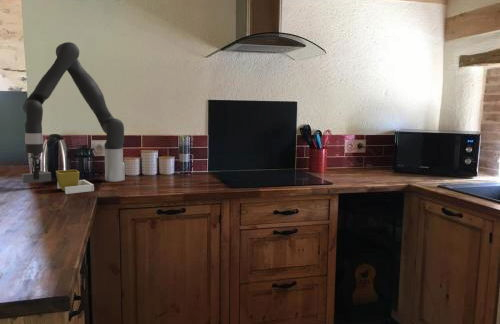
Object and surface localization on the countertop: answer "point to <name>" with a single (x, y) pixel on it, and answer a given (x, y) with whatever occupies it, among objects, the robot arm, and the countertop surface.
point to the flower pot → (67, 178)
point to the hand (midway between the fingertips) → (35, 178)
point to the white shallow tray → (79, 187)
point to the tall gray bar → (30, 179)
